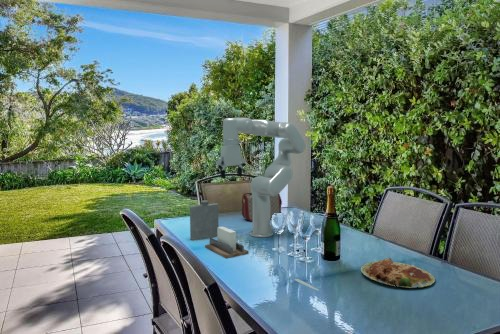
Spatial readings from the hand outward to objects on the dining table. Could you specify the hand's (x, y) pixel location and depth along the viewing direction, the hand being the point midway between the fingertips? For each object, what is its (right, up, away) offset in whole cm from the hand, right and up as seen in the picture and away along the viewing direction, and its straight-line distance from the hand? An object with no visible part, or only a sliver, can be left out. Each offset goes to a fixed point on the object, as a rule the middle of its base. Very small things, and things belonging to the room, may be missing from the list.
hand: (231, 177), depth 211 cm
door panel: (-2, -33, -11) cm, 35 cm away
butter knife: (+35, -40, -58) cm, 79 cm away
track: (-2, -35, -11) cm, 36 cm away
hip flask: (-14, -33, +11) cm, 37 cm away
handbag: (+18, -28, +54) cm, 63 cm away
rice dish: (+67, -39, -45) cm, 90 cm away
